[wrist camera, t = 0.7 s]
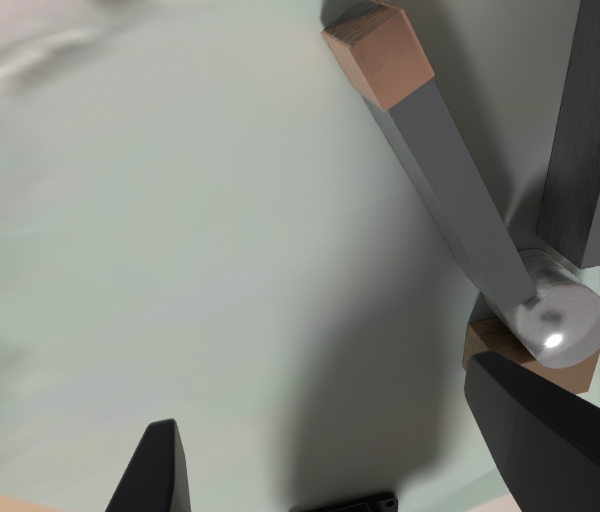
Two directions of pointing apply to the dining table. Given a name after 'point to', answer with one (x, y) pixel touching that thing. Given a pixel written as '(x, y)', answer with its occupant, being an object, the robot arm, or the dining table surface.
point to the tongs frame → (561, 239)
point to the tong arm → (428, 145)
